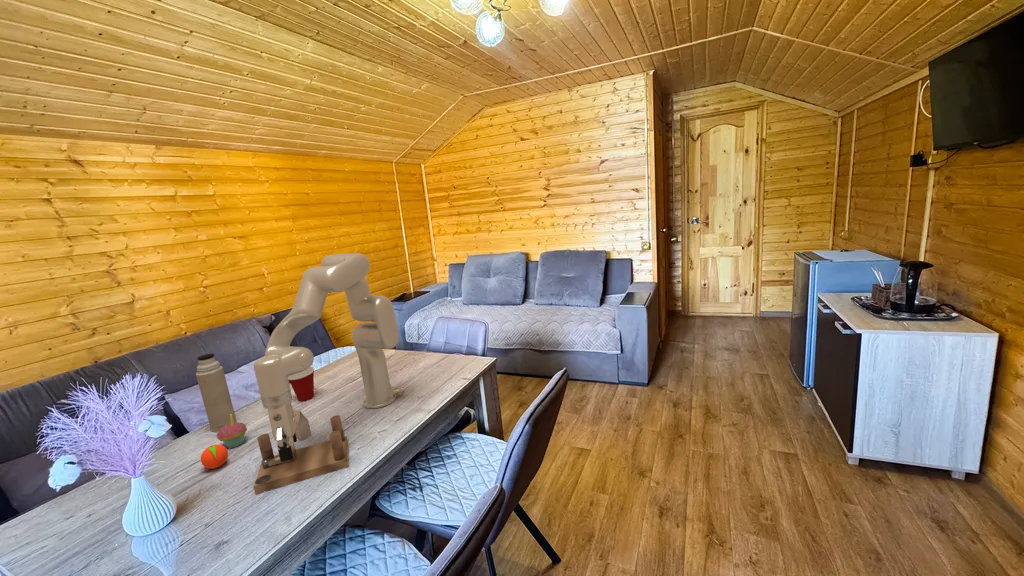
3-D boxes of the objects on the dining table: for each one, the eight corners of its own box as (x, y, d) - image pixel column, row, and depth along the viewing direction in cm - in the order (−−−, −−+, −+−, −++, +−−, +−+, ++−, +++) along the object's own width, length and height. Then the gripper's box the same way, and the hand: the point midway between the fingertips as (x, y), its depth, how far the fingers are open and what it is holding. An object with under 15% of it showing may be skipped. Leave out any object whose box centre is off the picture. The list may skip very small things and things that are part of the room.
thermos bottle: (206, 433, 150) (186, 361, 144) (219, 422, 158) (200, 352, 152) (229, 430, 151) (209, 358, 145) (241, 419, 158) (223, 350, 153)
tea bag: (301, 431, 145) (295, 404, 143) (311, 435, 142) (305, 408, 139) (290, 436, 142) (284, 409, 140) (301, 441, 139) (295, 414, 137)
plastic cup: (285, 403, 168) (278, 376, 166) (306, 391, 178) (301, 365, 175) (304, 406, 164) (298, 378, 161) (325, 393, 174) (320, 367, 171)
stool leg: (261, 469, 120) (254, 441, 118) (263, 463, 123) (256, 436, 121) (296, 459, 123) (290, 432, 121) (297, 454, 126) (291, 427, 124)
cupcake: (255, 438, 144) (247, 406, 141) (232, 452, 136) (223, 419, 133) (237, 435, 146) (229, 404, 144) (214, 449, 139) (205, 417, 136)
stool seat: (348, 442, 135) (342, 413, 133) (348, 466, 122) (341, 434, 120) (264, 466, 127) (256, 435, 124) (255, 494, 114) (246, 460, 112)
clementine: (233, 466, 128) (227, 445, 127) (206, 478, 123) (200, 456, 122) (228, 456, 134) (222, 436, 132) (201, 467, 129) (196, 447, 128)
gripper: (287, 407, 113) (300, 463, 117) (294, 383, 129) (305, 433, 132) (256, 414, 110) (270, 471, 114) (267, 389, 126) (279, 440, 130)
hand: (289, 451), depth 123 cm, fingers open, 9 cm apart
